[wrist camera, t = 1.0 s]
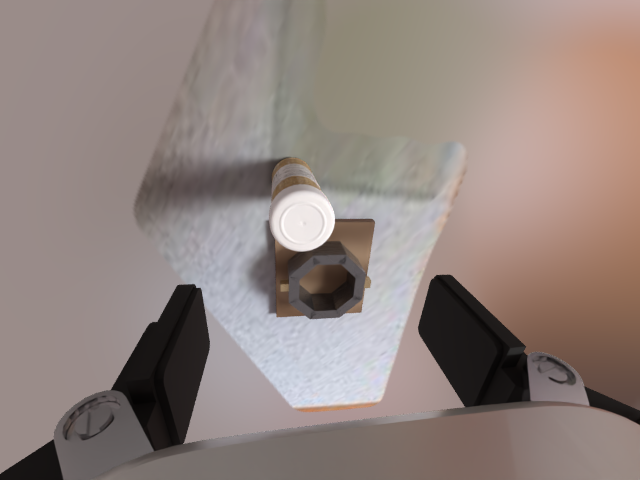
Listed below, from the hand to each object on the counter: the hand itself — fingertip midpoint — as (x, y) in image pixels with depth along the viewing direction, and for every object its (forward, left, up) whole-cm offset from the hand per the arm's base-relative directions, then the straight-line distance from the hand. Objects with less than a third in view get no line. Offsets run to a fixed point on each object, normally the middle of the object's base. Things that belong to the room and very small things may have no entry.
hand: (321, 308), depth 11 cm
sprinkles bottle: (0, 0, -22) cm, 22 cm away
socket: (+12, +4, -22) cm, 25 cm away
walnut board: (+12, +4, -22) cm, 25 cm away
